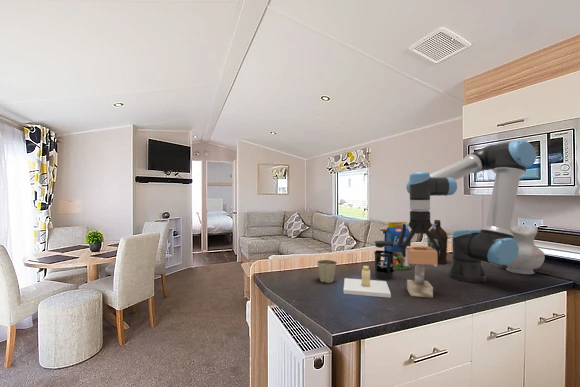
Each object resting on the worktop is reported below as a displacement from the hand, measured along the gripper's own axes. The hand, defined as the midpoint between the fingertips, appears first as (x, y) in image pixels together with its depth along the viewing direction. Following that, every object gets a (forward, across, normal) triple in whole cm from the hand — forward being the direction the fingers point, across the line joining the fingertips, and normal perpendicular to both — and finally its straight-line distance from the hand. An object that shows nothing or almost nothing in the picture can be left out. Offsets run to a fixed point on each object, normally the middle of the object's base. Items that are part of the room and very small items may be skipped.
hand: (420, 265), depth 113 cm
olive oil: (+12, -21, -58) cm, 63 cm away
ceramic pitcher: (+13, -57, -47) cm, 75 cm away
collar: (-2, 0, 0) cm, 2 cm away
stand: (+11, 0, 0) cm, 11 cm away
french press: (+11, +13, -20) cm, 26 cm away
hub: (+11, +22, 0) cm, 24 cm away
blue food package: (+12, +4, -38) cm, 40 cm away
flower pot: (+11, +38, -7) cm, 41 cm away
